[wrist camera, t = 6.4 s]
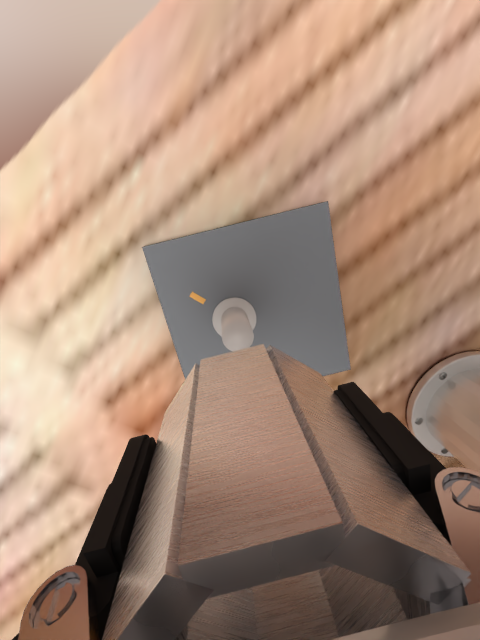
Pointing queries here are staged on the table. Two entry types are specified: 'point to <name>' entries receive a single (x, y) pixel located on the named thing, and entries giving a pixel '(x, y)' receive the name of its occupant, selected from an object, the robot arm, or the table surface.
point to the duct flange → (255, 290)
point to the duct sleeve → (274, 517)
